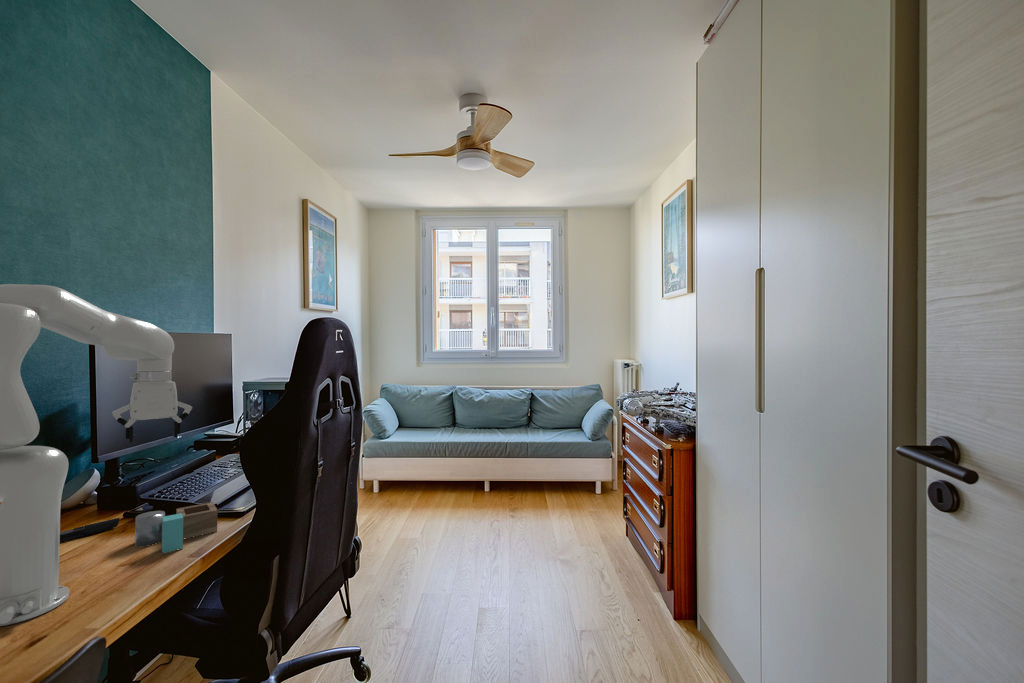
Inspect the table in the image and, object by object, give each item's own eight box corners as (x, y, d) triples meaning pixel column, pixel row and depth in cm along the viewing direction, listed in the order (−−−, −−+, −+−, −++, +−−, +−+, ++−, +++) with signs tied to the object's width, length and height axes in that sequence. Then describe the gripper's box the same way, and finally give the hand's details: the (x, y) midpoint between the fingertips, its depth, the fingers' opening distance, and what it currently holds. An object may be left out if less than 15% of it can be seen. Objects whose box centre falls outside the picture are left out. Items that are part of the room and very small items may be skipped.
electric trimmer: (121, 530, 124) (121, 518, 124) (41, 549, 111) (41, 537, 111) (117, 526, 126) (117, 515, 126) (38, 545, 113) (39, 533, 113)
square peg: (182, 549, 111) (183, 517, 112) (162, 554, 109) (163, 521, 109) (181, 543, 114) (181, 513, 115) (161, 548, 112) (162, 516, 112)
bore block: (217, 531, 122) (217, 510, 122) (178, 540, 116) (179, 517, 116) (212, 522, 128) (212, 501, 128) (175, 530, 123) (176, 508, 123)
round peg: (165, 542, 115) (165, 515, 116) (135, 549, 111) (135, 521, 112) (163, 534, 120) (164, 509, 120) (134, 541, 116) (135, 514, 116)
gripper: (113, 379, 113) (112, 446, 113) (194, 376, 126) (193, 436, 125) (111, 378, 119) (110, 441, 119) (190, 375, 131) (189, 432, 131)
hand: (153, 438), depth 122 cm, fingers open, 9 cm apart
